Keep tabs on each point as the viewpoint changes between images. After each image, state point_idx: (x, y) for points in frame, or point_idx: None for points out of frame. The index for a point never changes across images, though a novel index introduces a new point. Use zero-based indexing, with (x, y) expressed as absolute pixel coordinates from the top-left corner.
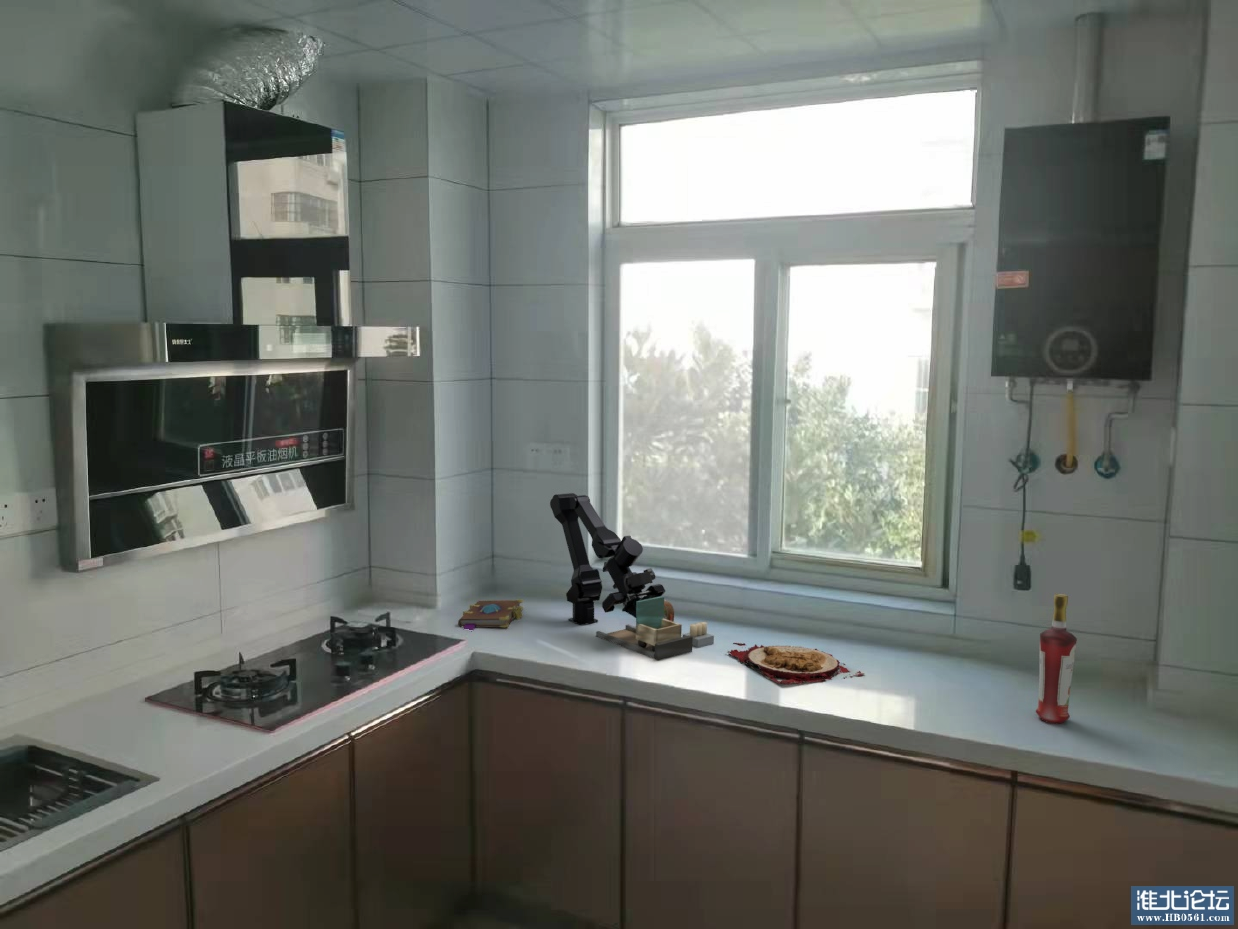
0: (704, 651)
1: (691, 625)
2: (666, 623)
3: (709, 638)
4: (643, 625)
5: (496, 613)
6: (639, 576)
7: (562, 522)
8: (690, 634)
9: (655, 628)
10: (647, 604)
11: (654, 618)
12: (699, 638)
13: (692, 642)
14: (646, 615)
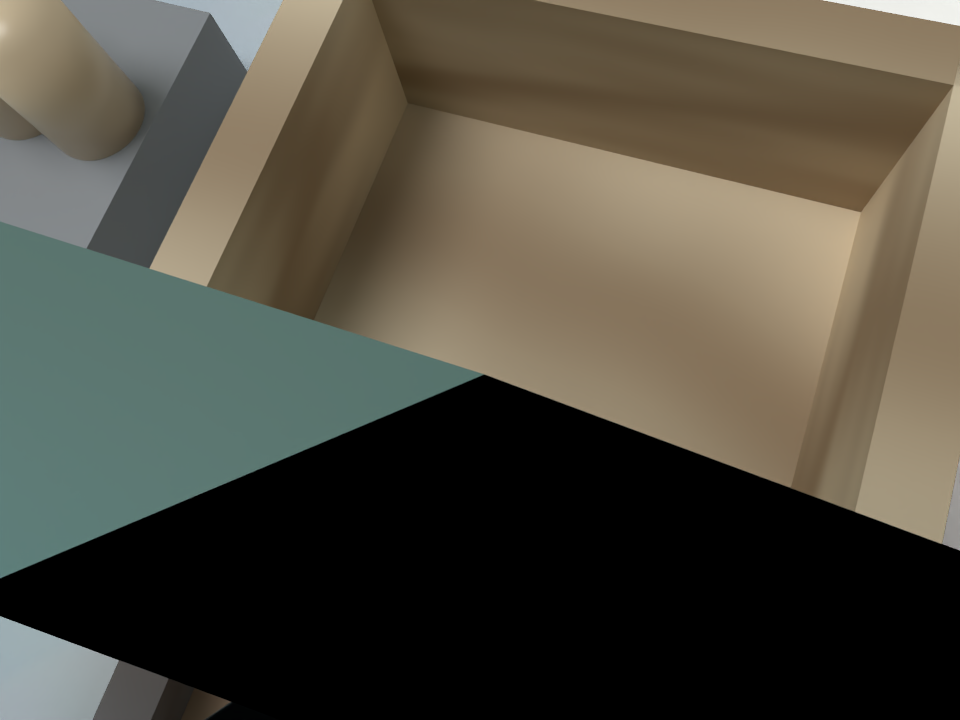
0: (254, 42)
1: (13, 32)
2: (250, 268)
3: None
4: (915, 486)
5: None
6: None
7: None
8: (119, 115)
9: (375, 484)
10: (607, 492)
11: (341, 458)
12: (158, 21)
13: (197, 129)
14: (639, 550)
